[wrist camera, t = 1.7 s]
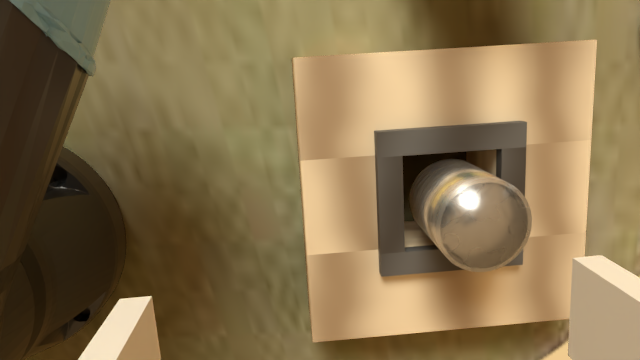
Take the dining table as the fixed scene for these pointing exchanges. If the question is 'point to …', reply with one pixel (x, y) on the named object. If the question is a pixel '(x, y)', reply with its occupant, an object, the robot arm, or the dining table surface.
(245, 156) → the dining table surface
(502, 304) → the block
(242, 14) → the dining table surface
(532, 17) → the dining table surface
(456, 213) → the peg
